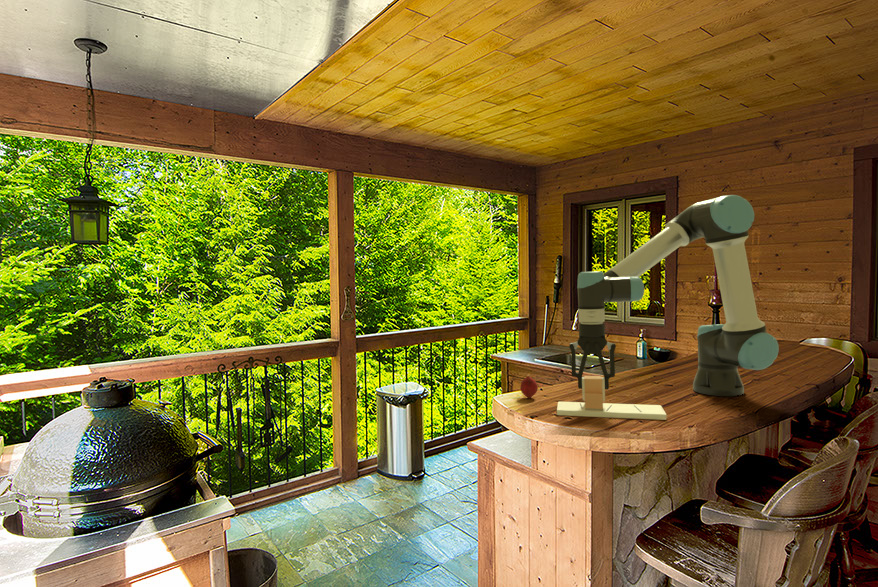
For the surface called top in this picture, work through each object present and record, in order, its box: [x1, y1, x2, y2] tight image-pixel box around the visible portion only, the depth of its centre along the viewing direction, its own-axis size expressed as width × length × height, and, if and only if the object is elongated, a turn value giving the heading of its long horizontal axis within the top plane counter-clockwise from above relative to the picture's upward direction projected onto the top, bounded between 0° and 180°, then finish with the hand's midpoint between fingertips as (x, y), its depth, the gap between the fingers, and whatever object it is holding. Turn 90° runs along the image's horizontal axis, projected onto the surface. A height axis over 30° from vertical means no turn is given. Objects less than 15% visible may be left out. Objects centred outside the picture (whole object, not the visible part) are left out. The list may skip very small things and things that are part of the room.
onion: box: [520, 374, 538, 399], centre depth 166 cm, size 6×6×8 cm
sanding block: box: [583, 375, 604, 411], centre depth 147 cm, size 5×8×9 cm, turn 164°
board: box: [556, 401, 667, 421], centre depth 146 cm, size 30×10×2 cm, turn 74°
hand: (593, 399), depth 147 cm, fingers closed on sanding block, 5 cm apart
